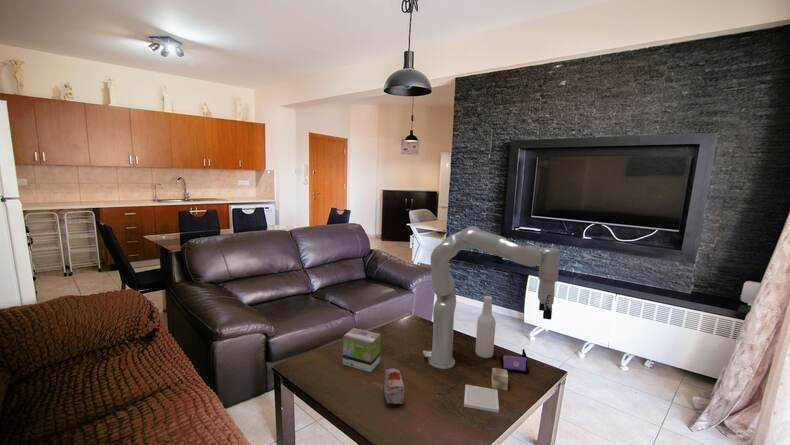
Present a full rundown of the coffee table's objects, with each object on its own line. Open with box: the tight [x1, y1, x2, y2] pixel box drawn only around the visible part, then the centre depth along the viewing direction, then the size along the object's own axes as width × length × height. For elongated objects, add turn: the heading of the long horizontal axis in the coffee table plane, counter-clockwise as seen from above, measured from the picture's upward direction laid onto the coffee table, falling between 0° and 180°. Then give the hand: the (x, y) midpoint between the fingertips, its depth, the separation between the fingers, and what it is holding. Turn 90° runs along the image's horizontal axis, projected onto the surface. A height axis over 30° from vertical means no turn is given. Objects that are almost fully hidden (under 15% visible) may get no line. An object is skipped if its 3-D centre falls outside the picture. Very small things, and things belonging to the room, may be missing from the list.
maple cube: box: [490, 367, 509, 391], centre depth 148 cm, size 6×6×6 cm
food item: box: [383, 368, 405, 405], centre depth 139 cm, size 14×8×10 cm, turn 10°
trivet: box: [463, 384, 500, 414], centre depth 139 cm, size 13×13×1 cm
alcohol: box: [475, 295, 496, 359], centre depth 173 cm, size 9×9×30 cm
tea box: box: [342, 327, 382, 373], centre depth 161 cm, size 15×10×15 cm
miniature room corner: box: [499, 348, 530, 374], centre depth 165 cm, size 12×12×7 cm
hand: (544, 314), depth 151 cm, fingers open, 9 cm apart
